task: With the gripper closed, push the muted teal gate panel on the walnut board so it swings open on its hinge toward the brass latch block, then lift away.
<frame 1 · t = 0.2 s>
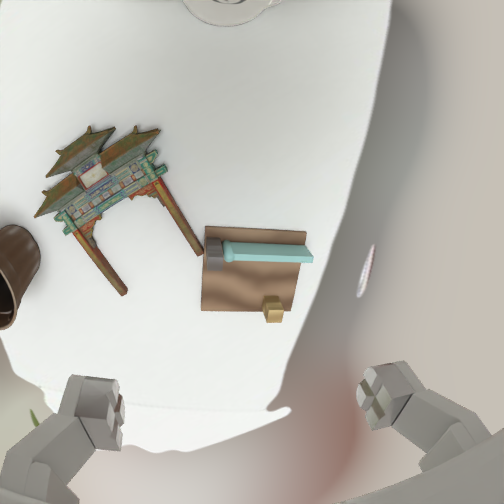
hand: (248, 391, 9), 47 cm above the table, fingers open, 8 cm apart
plant pot: (18, 252, 52), on the table
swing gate: (267, 252, 57), point 4 cm above the table, hinge at 0.0°
gate frame: (226, 242, 58), on the table
miniature gate: (119, 205, 53), on the table
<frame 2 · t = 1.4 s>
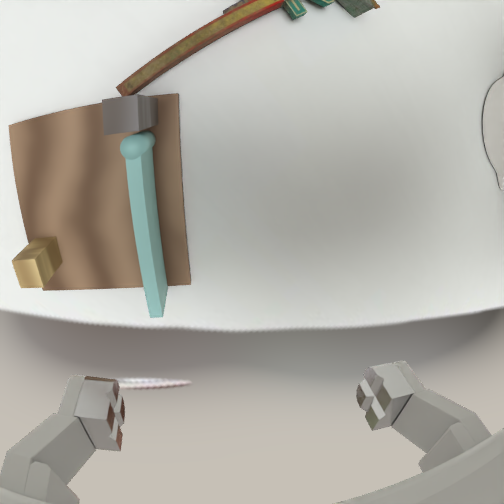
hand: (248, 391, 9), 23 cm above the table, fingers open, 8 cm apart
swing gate: (147, 225, 26), point 4 cm above the table, hinge at 0.0°
gate frame: (147, 139, 26), on the table
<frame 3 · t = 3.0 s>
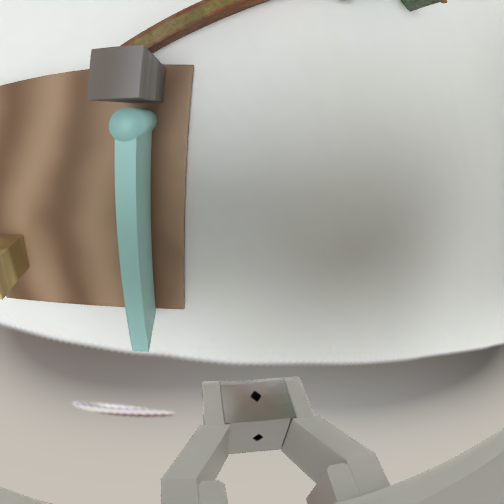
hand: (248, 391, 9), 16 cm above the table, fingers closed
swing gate: (136, 232, 19), point 4 cm above the table, hinge at 0.0°
gate frame: (147, 120, 20), on the table
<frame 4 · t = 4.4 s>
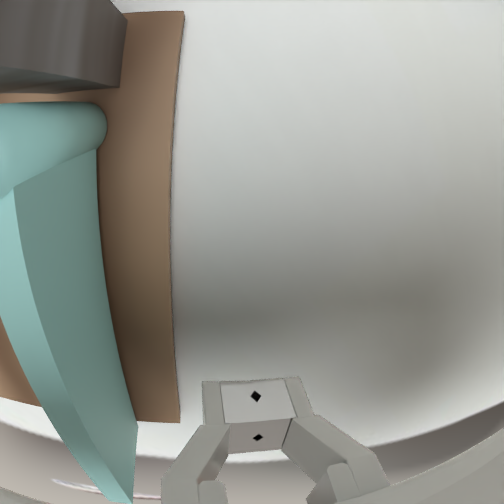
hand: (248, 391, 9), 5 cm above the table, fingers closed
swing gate: (80, 357, 9), point 4 cm above the table, hinge at 0.0°
gate frame: (92, 126, 9), on the table
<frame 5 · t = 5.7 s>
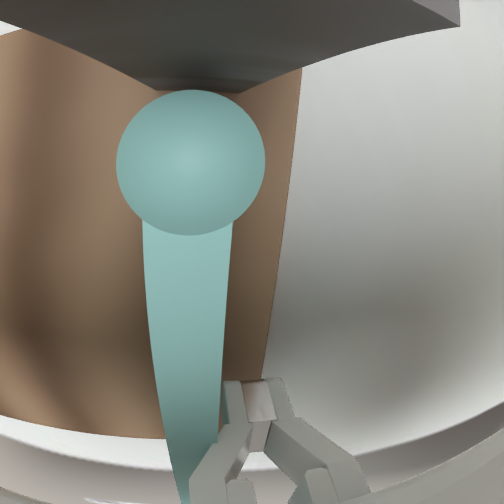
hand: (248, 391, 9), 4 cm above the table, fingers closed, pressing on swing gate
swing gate: (189, 390, 9), point 4 cm above the table, hinge at 0.8°, touching gripper
gate frame: (194, 132, 9), on the table
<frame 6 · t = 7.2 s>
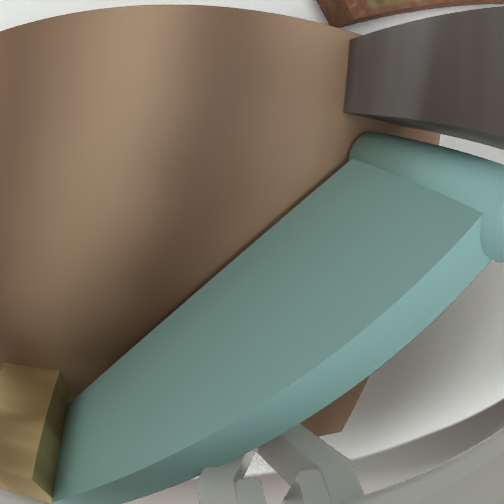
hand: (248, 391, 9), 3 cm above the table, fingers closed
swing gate: (212, 363, 8), point 4 cm above the table, hinge at 44.9°, touching gate frame, gripper
gate frame: (357, 154, 10), on the table
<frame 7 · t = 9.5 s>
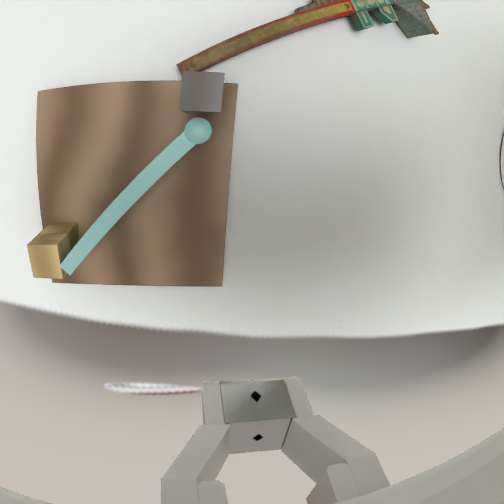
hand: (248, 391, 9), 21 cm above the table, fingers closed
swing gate: (131, 192, 23), point 4 cm above the table, hinge at 44.9°, touching gate frame
gate frame: (197, 127, 25), on the table
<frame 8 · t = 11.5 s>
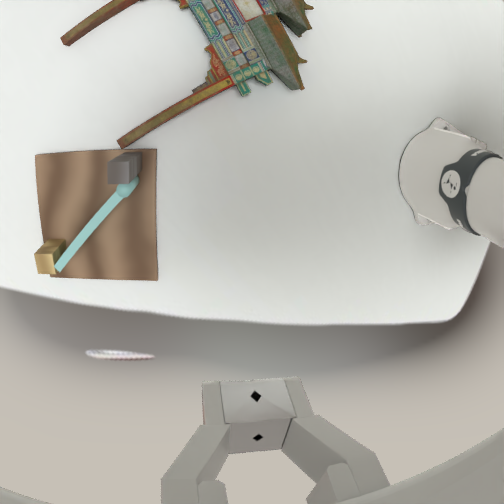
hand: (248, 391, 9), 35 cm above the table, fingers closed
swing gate: (94, 223, 37), point 4 cm above the table, hinge at 44.9°, touching gate frame
gate frame: (134, 178, 39), on the table
miniature gate: (192, 32, 33), on the table
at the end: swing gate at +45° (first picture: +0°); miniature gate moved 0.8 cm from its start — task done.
